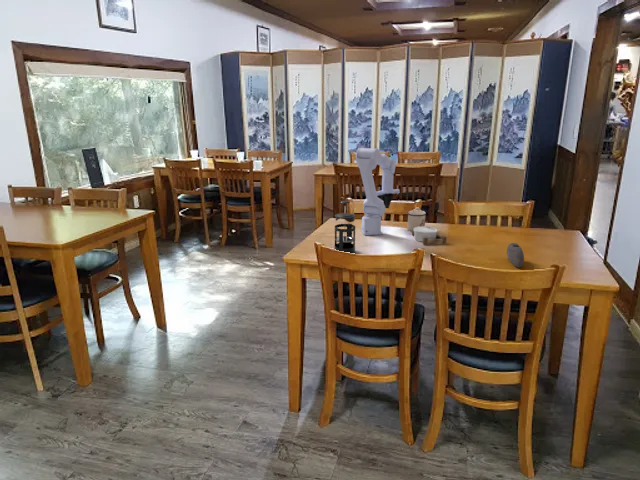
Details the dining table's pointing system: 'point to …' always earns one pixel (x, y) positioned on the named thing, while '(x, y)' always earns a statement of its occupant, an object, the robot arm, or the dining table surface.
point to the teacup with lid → (416, 218)
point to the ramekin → (425, 233)
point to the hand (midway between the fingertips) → (386, 207)
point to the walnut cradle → (433, 240)
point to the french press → (345, 241)
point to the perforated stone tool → (515, 254)
